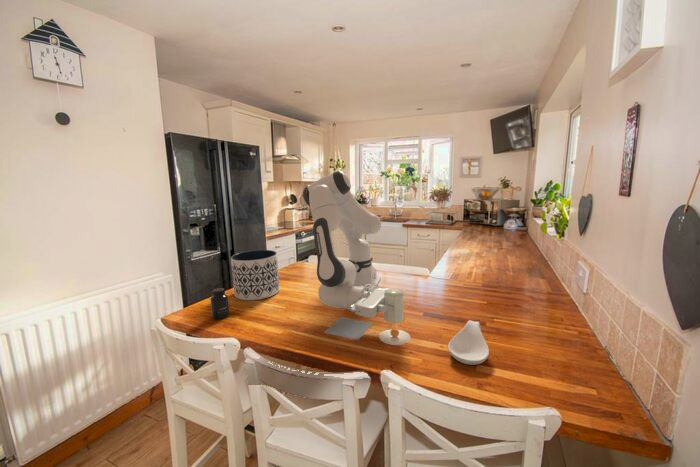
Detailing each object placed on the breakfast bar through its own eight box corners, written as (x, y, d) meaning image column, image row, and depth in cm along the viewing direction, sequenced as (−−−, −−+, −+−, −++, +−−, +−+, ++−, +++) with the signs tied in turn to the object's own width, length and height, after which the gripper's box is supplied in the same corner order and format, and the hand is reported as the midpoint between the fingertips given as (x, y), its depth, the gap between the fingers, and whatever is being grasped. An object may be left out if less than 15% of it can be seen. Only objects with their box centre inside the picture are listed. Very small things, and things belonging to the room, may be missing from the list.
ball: (391, 333, 110) (391, 326, 109) (400, 335, 108) (400, 327, 108) (389, 337, 107) (389, 329, 106) (397, 339, 106) (397, 331, 105)
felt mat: (340, 318, 125) (340, 317, 125) (372, 324, 119) (372, 322, 119) (323, 334, 112) (323, 332, 112) (358, 341, 106) (358, 340, 106)
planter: (262, 303, 143) (258, 261, 140) (224, 298, 151) (220, 258, 148) (287, 287, 164) (285, 250, 161) (253, 284, 172) (250, 248, 168)
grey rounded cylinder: (388, 314, 110) (388, 287, 109) (405, 317, 108) (405, 289, 106) (382, 321, 105) (382, 293, 103) (400, 324, 102) (400, 295, 101)
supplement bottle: (223, 320, 126) (220, 293, 124) (208, 319, 128) (205, 292, 126) (232, 313, 133) (230, 287, 131) (218, 312, 134) (215, 286, 132)
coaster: (385, 328, 115) (385, 327, 115) (413, 333, 110) (413, 332, 110) (374, 342, 105) (374, 341, 105) (405, 349, 101) (405, 347, 100)
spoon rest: (487, 375, 86) (488, 351, 85) (444, 365, 92) (445, 343, 90) (491, 336, 107) (492, 317, 106) (456, 330, 112) (456, 312, 111)
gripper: (346, 300, 101) (386, 307, 95) (369, 282, 119) (404, 286, 113) (347, 318, 102) (386, 325, 96) (370, 297, 120) (404, 302, 114)
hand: (396, 304), depth 105 cm, fingers closed on grey rounded cylinder, 6 cm apart
